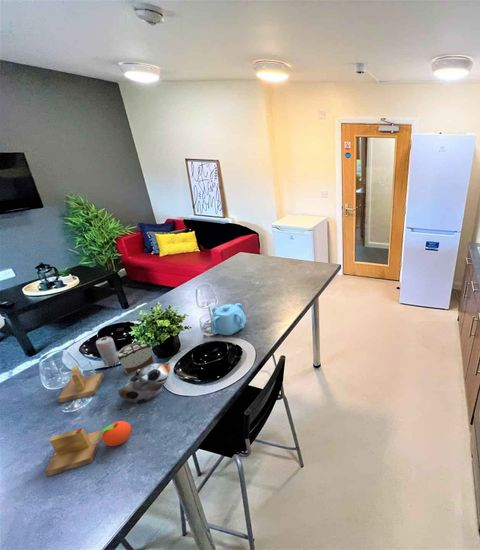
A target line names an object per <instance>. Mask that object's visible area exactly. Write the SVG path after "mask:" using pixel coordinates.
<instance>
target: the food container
mask: <svg viewBox="0 0 480 550" xmlns="http://www.w3.org/2000/svg"><path fill="white" fill-rule="evenodd" d="M139 342H140V341H135V342H132V343H130V344H127V345H125V346H123V347H122V348H121V349H119V350H118V353H117V356H116V359H117V362H118V360H119V361H120V363H119V364H120V365H121V367H122V369H123V370H124V372H125V374H126V375H127V376H131V375H132V374H135V372H136V371H137V370H138V369H140V370H141V371H142V370H143V369H144V368H146V367H148V366H150V365H152V364H155V361H154V355H153V348H152V347H154V345H153V344H152V343H151V344H140V343H139Z"/></svg>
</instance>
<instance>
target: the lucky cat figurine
mask: <svg viewBox="0 0 480 550" xmlns="http://www.w3.org/2000/svg"><path fill="white" fill-rule="evenodd" d="M170 371H171V362H169V361H167V362H165V363H156V362H154V363H153V364H151V365H149V366H147V367H145V368H143V369H141V370H140V369H138V370H137V371H136V372H134V375H133V376H130V377H129V378H128V379H127V380H126V382H125V384H124V385H123V387H122V388H120V389H117V390H118V391H117V394H118V395H119V397H121V399H123V400H126V401H127V402H129V403H134V404H139V403H141V402H143V403H146V402H149V401H150V400H152V399H153V398H156V396H158V395H159V394H160V393H162V390H163V386H164V384H165V383H166V382H167V381H168V379H169V374H170Z"/></svg>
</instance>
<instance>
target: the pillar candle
mask: <svg viewBox="0 0 480 550" xmlns="http://www.w3.org/2000/svg"><path fill="white" fill-rule="evenodd" d="M95 346H96V348H97V350H98V353H99V356H100V358H101V360H102V363H103V365H104V366H105V367H106V366H112V367H114V366H113V365H115V364H117V363H119V362H120V361H119V360H118V362H117V359H116V356H117V353H118V352H119V350H118V348H117V346H116V343H115V341H114V338H112V336H103V337H100V338H99V339H97V340H96V341H95ZM119 364H120V363H119ZM117 365H118V364H117ZM115 366H116V365H115Z"/></svg>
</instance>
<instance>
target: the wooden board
mask: <svg viewBox="0 0 480 550" xmlns="http://www.w3.org/2000/svg"><path fill="white" fill-rule="evenodd" d="M102 430H103V429H100V430H97V431H93V432H89V433H86V434H87V436H88V438H89V440H90V442H91V444H90V446H89V447H88V448H84V449H81V450H77V451H74V452H70V453H67V454H64V455H60V456H58V454H57V453H56V451H55V450H54V453H53V454H52V455H49V458H51V459H50V461H49V463H48V465H47V467H46V468H45V471H44V473H45V474H46V476H47V477H49V476H53V475H56V474H59V473H63V472H65V471H68V470H69V471H70V470H72V469H75V468H78V467H82V466H84V465H88V464H92V463H93V462H94V459H95V457H96V454H97V452H98V449H99V447H100V444H101V442H102V441H103V439H102V436H103V433H104V432H102V433H100V432H101V431H102ZM99 433H100V434H99ZM98 434H99V435H98ZM97 437H98V438H97Z"/></svg>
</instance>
